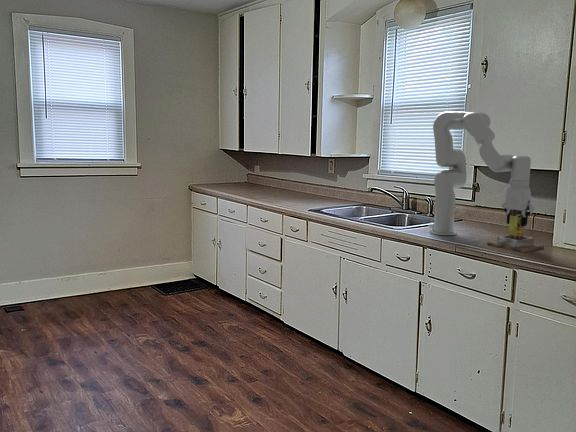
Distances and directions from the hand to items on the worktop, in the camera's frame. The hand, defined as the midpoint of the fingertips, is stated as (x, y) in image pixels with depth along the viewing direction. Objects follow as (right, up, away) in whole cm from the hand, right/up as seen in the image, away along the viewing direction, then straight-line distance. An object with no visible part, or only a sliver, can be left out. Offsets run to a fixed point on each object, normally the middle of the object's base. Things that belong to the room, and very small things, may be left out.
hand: (516, 224), depth 239 cm
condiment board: (0, -10, +2) cm, 10 cm away
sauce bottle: (0, -7, +1) cm, 7 cm away
